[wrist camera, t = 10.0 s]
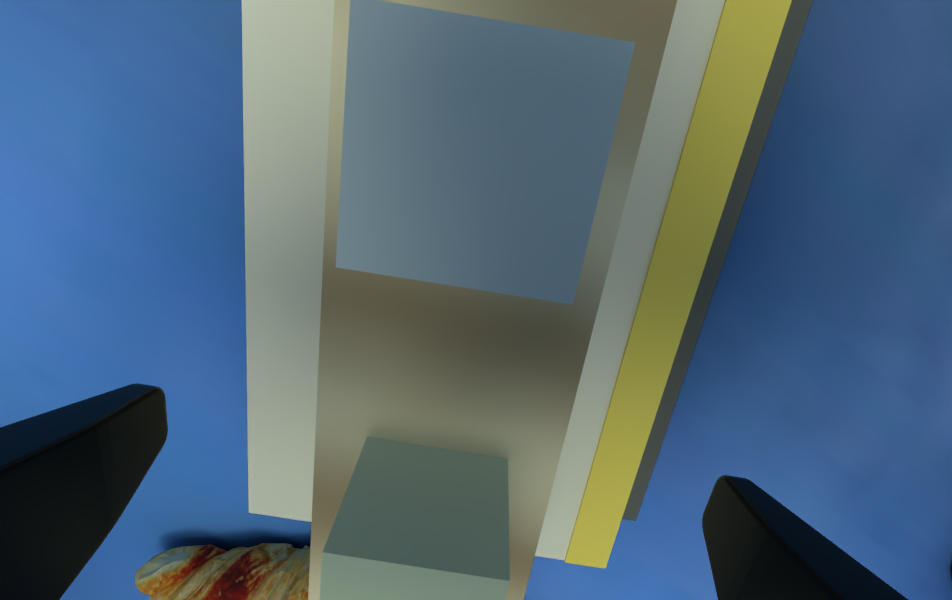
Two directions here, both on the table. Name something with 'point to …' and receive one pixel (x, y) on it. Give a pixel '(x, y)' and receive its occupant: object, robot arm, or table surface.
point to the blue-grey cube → (474, 148)
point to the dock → (627, 282)
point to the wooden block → (470, 314)
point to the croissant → (227, 573)
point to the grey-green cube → (420, 527)
